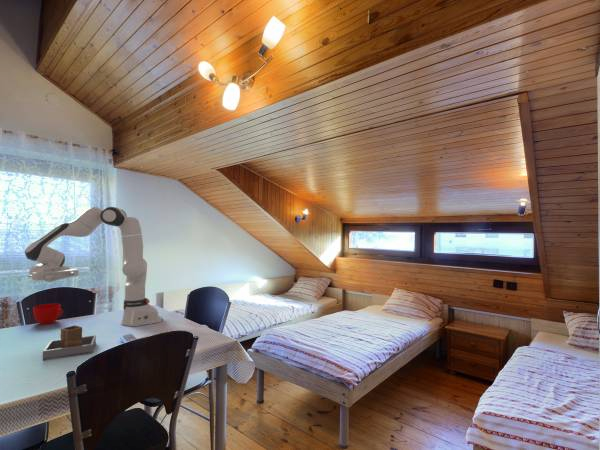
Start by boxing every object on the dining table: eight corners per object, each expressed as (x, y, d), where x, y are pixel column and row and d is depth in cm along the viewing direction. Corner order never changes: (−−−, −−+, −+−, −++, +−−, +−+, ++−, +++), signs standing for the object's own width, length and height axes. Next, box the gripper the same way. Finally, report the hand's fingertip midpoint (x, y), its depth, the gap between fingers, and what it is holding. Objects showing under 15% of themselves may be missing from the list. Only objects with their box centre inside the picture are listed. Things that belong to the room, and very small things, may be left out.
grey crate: (95, 343, 158) (95, 335, 158) (92, 353, 145) (92, 344, 145) (50, 349, 149) (50, 340, 149) (42, 360, 137) (42, 351, 137)
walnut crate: (60, 350, 146) (60, 328, 146) (74, 346, 151) (75, 325, 152) (67, 353, 143) (67, 330, 143) (81, 348, 149) (82, 327, 149)
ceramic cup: (51, 327, 182) (51, 309, 182) (26, 325, 185) (27, 308, 185) (71, 320, 195) (71, 304, 195) (47, 319, 198) (48, 303, 198)
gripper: (26, 269, 164) (39, 271, 157) (70, 266, 182) (84, 267, 175) (26, 282, 164) (39, 284, 157) (70, 277, 182) (83, 279, 175)
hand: (63, 275), depth 167 cm, fingers open, 8 cm apart
